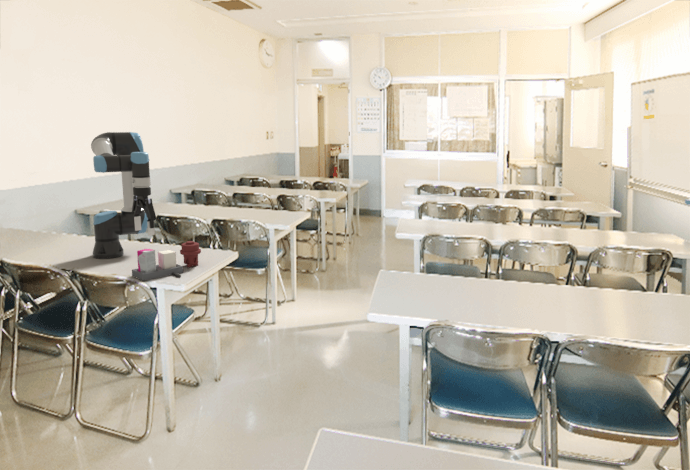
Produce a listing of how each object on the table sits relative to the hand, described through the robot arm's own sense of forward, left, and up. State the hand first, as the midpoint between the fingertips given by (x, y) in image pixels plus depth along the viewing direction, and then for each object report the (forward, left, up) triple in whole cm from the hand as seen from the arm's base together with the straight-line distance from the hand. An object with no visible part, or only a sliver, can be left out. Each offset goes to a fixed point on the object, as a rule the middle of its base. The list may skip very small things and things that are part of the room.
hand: (144, 232), depth 243 cm
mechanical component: (-2, +24, -21) cm, 32 cm away
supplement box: (0, 0, -20) cm, 20 cm away
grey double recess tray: (+4, +5, -21) cm, 22 cm away
